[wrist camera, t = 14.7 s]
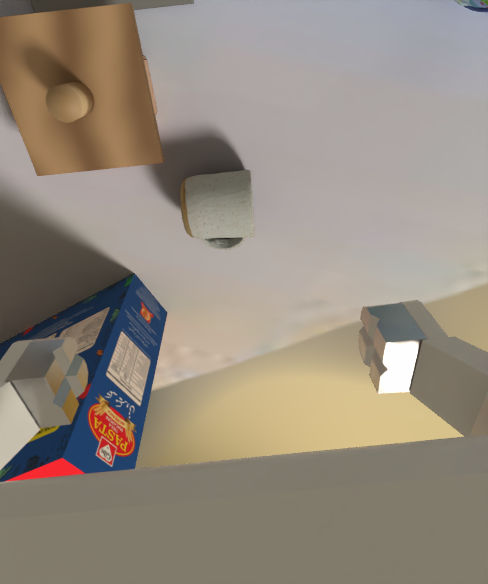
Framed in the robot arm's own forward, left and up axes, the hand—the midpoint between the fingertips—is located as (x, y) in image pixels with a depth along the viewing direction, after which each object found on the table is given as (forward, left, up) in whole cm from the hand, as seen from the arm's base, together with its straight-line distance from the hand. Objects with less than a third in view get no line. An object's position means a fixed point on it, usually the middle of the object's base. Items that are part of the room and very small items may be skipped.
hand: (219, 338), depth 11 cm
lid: (+13, -4, -32) cm, 35 cm away
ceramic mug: (+1, +10, -37) cm, 39 cm away
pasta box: (+26, +27, -37) cm, 53 cm away
